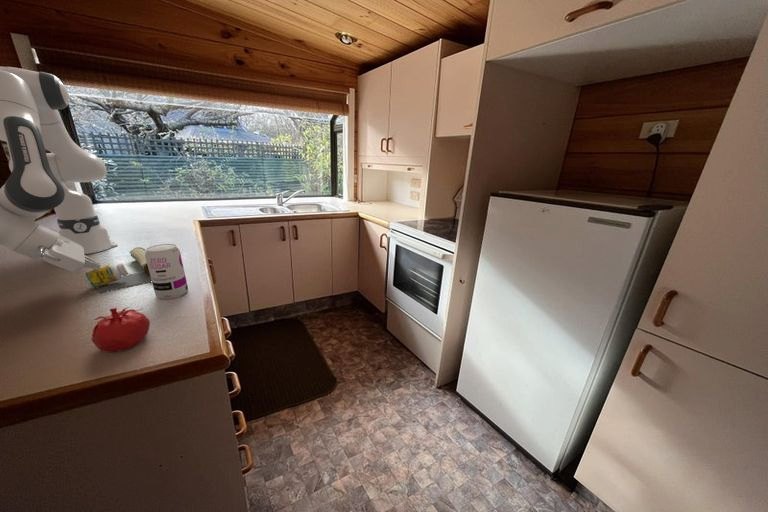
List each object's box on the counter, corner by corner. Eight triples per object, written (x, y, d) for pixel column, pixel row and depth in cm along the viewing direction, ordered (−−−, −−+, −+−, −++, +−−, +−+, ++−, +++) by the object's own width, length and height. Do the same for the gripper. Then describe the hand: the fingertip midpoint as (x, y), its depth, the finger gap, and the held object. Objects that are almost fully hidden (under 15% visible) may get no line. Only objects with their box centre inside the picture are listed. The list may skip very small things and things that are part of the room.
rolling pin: (166, 276, 100) (162, 263, 98) (145, 281, 96) (141, 267, 94) (147, 255, 121) (144, 244, 119) (129, 258, 117) (126, 246, 115)
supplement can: (184, 285, 95) (175, 241, 90) (191, 294, 90) (181, 248, 85) (154, 293, 90) (141, 246, 85) (159, 303, 84) (146, 254, 79)
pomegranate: (162, 331, 72) (154, 297, 69) (130, 357, 63) (120, 319, 60) (120, 330, 72) (111, 296, 69) (82, 356, 62) (69, 318, 59)
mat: (97, 282, 96) (96, 281, 96) (163, 268, 108) (163, 267, 108) (99, 293, 89) (98, 292, 89) (170, 277, 101) (170, 276, 101)
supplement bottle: (92, 287, 93) (129, 275, 99) (90, 290, 89) (129, 277, 94) (83, 272, 91) (121, 260, 97) (81, 274, 87) (121, 261, 93)
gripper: (46, 242, 75) (109, 267, 85) (51, 227, 89) (104, 251, 99) (27, 262, 74) (92, 286, 83) (34, 244, 87) (90, 266, 97)
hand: (99, 267), depth 91 cm, fingers closed, pressing on supplement bottle
